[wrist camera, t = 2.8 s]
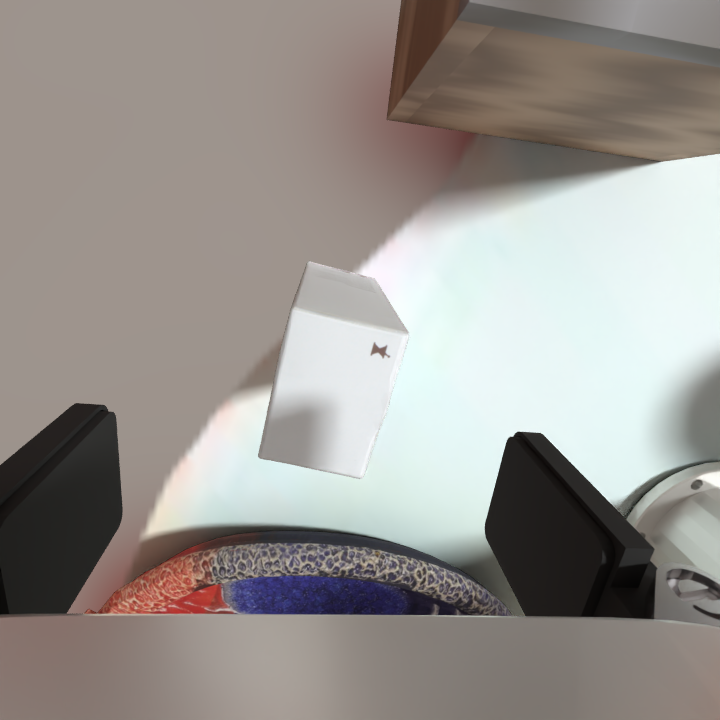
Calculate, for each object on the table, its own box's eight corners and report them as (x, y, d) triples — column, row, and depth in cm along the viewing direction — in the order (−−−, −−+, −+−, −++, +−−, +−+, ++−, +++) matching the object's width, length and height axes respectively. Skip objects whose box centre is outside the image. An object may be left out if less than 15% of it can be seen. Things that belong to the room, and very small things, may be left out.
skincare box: (305, 258, 25) (290, 300, 14) (376, 277, 26) (416, 332, 15) (283, 355, 27) (253, 462, 16) (350, 371, 28) (367, 483, 16)
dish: (471, 679, 38) (492, 745, 34) (100, 650, 34) (64, 721, 29) (530, 537, 34) (563, 590, 29) (107, 482, 29) (66, 534, 24)
